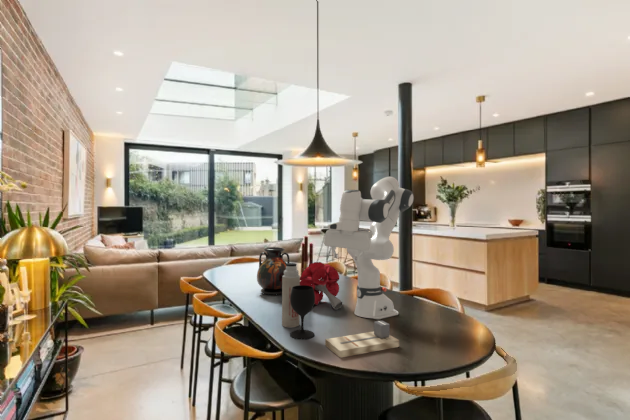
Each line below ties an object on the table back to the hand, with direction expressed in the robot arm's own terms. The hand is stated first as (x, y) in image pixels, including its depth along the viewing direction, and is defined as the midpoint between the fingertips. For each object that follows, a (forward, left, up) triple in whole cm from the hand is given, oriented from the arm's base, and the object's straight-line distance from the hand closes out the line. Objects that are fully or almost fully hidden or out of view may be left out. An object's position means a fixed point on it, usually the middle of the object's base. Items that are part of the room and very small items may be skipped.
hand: (345, 259), depth 149 cm
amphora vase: (+7, -79, -32) cm, 86 cm away
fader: (-8, +15, -29) cm, 33 cm away
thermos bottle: (+18, -19, -32) cm, 41 cm away
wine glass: (+18, -5, -32) cm, 37 cm away
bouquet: (-9, -44, -32) cm, 55 cm away
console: (+1, +15, -32) cm, 35 cm away
